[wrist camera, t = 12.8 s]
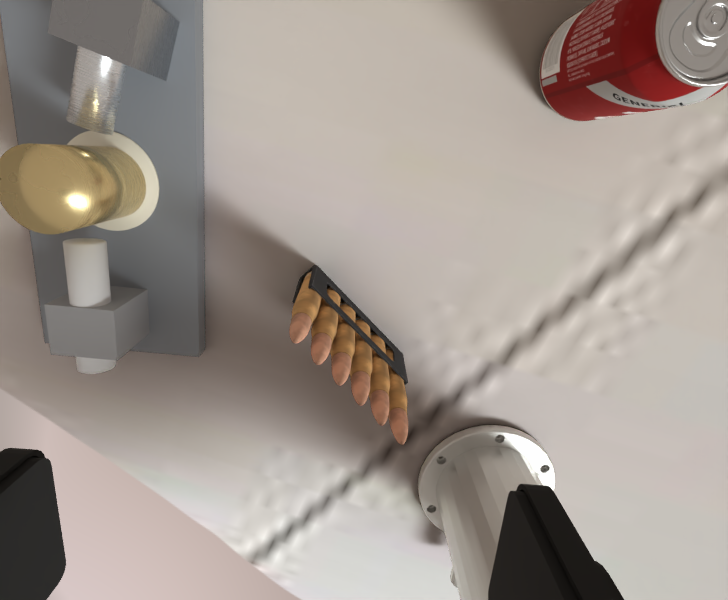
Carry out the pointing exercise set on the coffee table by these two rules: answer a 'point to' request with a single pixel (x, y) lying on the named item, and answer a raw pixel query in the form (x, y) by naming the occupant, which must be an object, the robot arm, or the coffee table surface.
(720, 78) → the soda can
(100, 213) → the tan rounded cylinder
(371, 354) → the ammunition clip
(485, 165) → the coffee table surface
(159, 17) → the grey block on rod
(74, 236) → the shaft rig
